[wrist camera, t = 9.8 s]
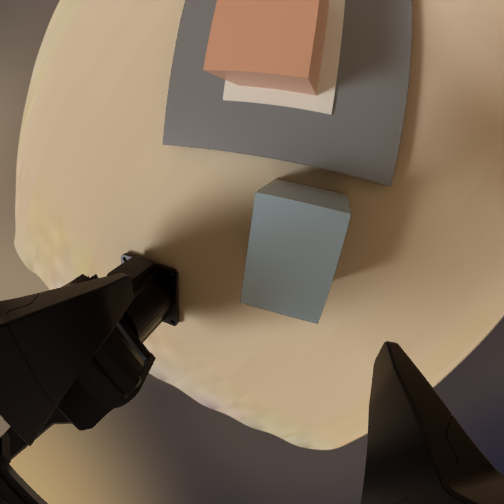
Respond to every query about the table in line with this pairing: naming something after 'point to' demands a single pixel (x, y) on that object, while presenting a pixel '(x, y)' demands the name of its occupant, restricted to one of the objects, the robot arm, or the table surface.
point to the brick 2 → (294, 248)
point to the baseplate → (303, 95)
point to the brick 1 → (268, 43)
